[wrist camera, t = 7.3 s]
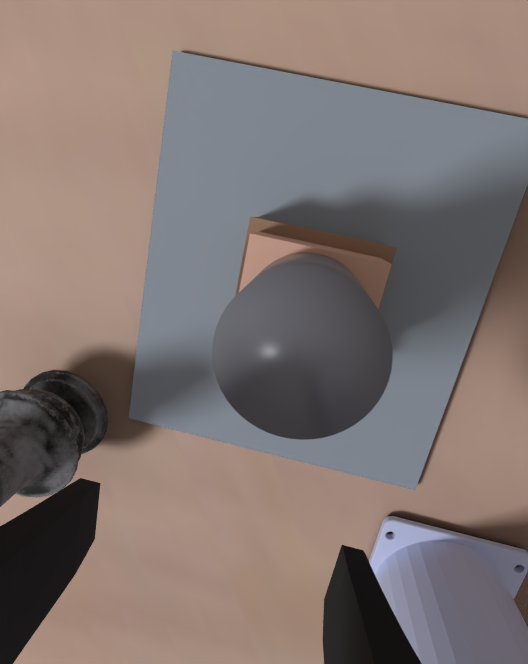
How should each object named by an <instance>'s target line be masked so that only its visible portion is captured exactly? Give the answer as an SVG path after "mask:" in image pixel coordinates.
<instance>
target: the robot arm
mask: <svg viewBox="0 0 528 664" xmlns="http://www.w3.org/2000/svg"><path fill="white" fill-rule="evenodd" d="M99 491H100V483H97V482H93V481H89V480H86V479H82V478H80V479H79V480H77V481H75V482H73V483H72V484H70V485H68V486H67V487H65V488H64V489H62V490H60V491H59V492H57V493H55V494H54V495H52V496H51V497H49V498H47V499H46V500H44V501H42V502H41V503H39V504H38V505H36V506H34V507H33V508H31V509H29V510H28V511H26V512H24V513H23V514H21V515H19V516H17V517H16V518H14V519H12V520H11V521H9V522H7V523H6V524H4V525H2V526H0V664H13V663H14V661H15V660H16V658H17V657H18V655H19V654H20V652H21V651H22V649H23V648H24V647H25V645H26V644H27V642H28V641H29V640H30V638H31V637H32V635H33V634H34V632H35V631H36V630H37V628H38V627H39V625H40V624H41V622H42V621H43V620H44V618H45V617H46V615H47V614H48V613H49V611H50V610H51V608H52V607H53V605H54V604H55V603H56V601H57V600H58V598H59V597H60V595H61V594H62V592H63V591H64V590H65V588H66V587H67V585H68V584H69V582H70V581H71V579H72V578H73V577H74V575H75V574H76V572H77V570H78V568H79V566H80V565H81V563H82V561H83V559H84V558H85V556H86V554H87V552H88V550H89V548H90V546H91V545H92V543H93V541H94V539H95V530H96V520H97V510H98V501H99ZM387 532H393V533H392V534H386V533H387ZM517 565H520V566H518V567H515V566H517ZM527 572H528V552H527V551H526V550H524V549H520V548H517V547H513V546H509V545H505V544H501V543H497V542H493V541H489V540H485V539H481V538H477V537H473V536H469V535H466V534H462V533H458V532H454V531H450V530H446V529H442V528H438V527H434V526H430V525H426V524H422V523H418V522H415V521H411V520H407V519H403V518H399V517H395V516H389V517H386V518H385V519H384V520H383V522H382V525H381V528H380V531H379V534H378V537H377V539H376V542H375V545H374V548H373V551H372V554H371V557H370V559H369V561H368V559H367V556H366V554H365V553H364V551H363V550H359V549H355V548H352V547H348V546H344V545H342V546H341V549H340V552H339V556H338V559H337V562H336V565H335V568H334V571H333V574H332V577H331V580H330V583H329V586H328V589H327V593H326V596H325V599H324V619H323V651H324V664H528V627H527V625H526V623H525V621H524V619H523V617H522V615H521V613H520V611H519V609H518V608H517V606H516V604H515V602H514V598H515V596H516V594H517V592H518V590H519V588H520V586H521V584H522V582H523V580H524V578H525V576H526V574H527Z"/></svg>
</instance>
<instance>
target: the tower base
mask: <svg viewBox="0 0 528 664" xmlns="http://www.w3.org/2000/svg"><path fill="white" fill-rule="evenodd" d="M254 232H264V233H269V234H273V235H278V236H282V237H287V238H292V239H296V240H301V241H306V242H310V243H315V244H319V245H324V246H329V247H333V248H338V249H342V250H347V251H352V252H356V253H361V254H366V255H370V256H375V257H379V258H382V259H384V260H385V261H387V262H389V263H391V264H392V263H393V260H394V257H395V253H396V250H397V248H395V247H392V246H389V245H386V244H382V243H377V242H373V241H368V240H363V239H359V238H354V237H349V236H345V235H340V234H335V233H331V232H326V231H321V230H317V229H312V228H307V227H303V226H298V225H293V224H289V223H284V222H279V221H275V220H270V219H265V218H261V217H250V220H249V225H248V231H247V236H246V241H245V247H244V252H243V257H242V263H241V268H240V273H239V279H238V284H237V289H236V295H237V294H238V293H239V289H240V283H241V278H242V273H243V267H244V262H245V257H246V252H247V246H248V241H249V236H250V233H254ZM391 267H392V265H391ZM390 270H391V269H390ZM389 274H390V272H389ZM388 277H389V276H388ZM387 280H388V279H387ZM386 284H387V282H386ZM385 287H386V286H385ZM384 291H385V289H384ZM383 294H384V293H383ZM236 295H235V296H236ZM382 297H383V296H382ZM381 301H382V299H381ZM380 304H381V303H380ZM379 308H380V306H379Z"/></svg>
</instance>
